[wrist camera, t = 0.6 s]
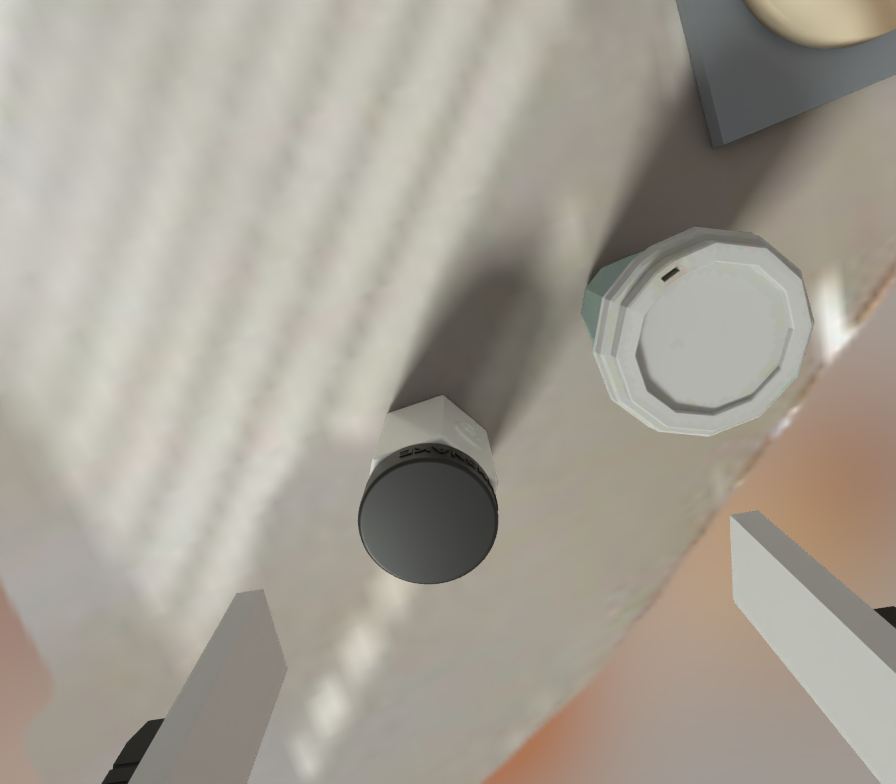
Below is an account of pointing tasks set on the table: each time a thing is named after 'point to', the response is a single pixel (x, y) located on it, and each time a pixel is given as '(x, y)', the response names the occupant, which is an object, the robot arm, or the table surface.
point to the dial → (825, 20)
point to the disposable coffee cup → (699, 330)
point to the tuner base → (768, 69)
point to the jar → (430, 494)
